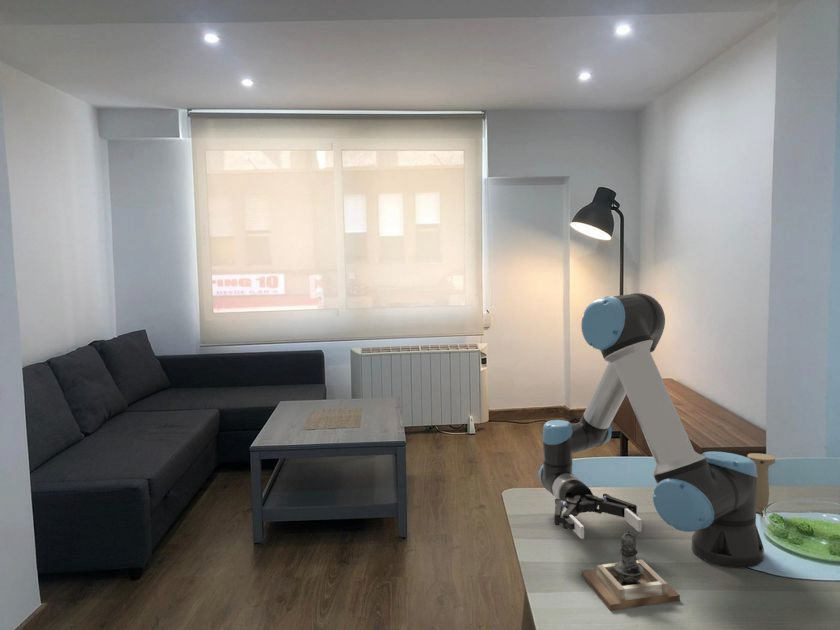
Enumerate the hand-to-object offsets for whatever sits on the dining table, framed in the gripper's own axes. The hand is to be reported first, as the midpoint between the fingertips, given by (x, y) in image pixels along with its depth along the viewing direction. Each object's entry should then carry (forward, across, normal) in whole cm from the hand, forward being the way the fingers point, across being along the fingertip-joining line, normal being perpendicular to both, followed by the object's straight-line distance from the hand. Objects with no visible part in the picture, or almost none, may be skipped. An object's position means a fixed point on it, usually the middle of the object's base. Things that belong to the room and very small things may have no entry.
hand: (611, 529), depth 147 cm
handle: (-19, -51, -10) cm, 55 cm away
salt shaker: (+8, 0, -8) cm, 12 cm away
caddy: (+8, 0, -10) cm, 12 cm away
